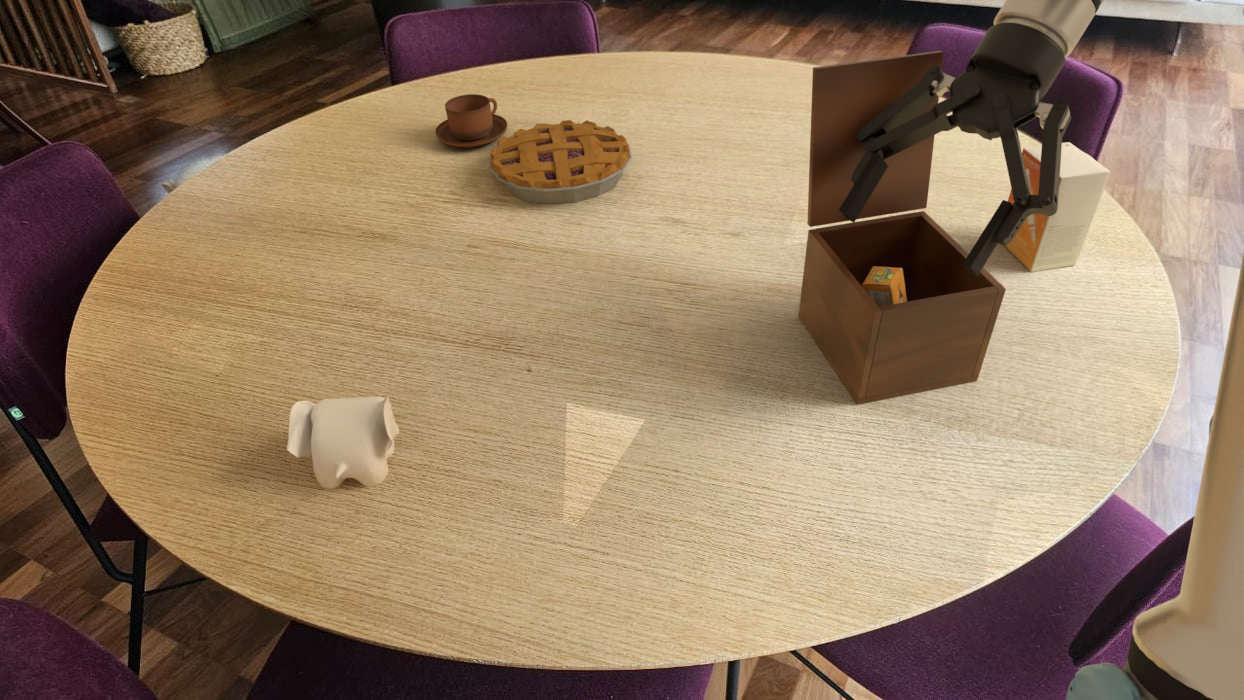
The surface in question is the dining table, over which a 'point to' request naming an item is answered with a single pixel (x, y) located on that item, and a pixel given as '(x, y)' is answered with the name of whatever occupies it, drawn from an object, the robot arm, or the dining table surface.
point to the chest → (897, 307)
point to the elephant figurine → (344, 438)
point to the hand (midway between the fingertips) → (904, 242)
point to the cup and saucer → (471, 122)
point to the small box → (1060, 210)
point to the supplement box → (885, 285)
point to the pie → (560, 162)
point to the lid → (835, 152)
